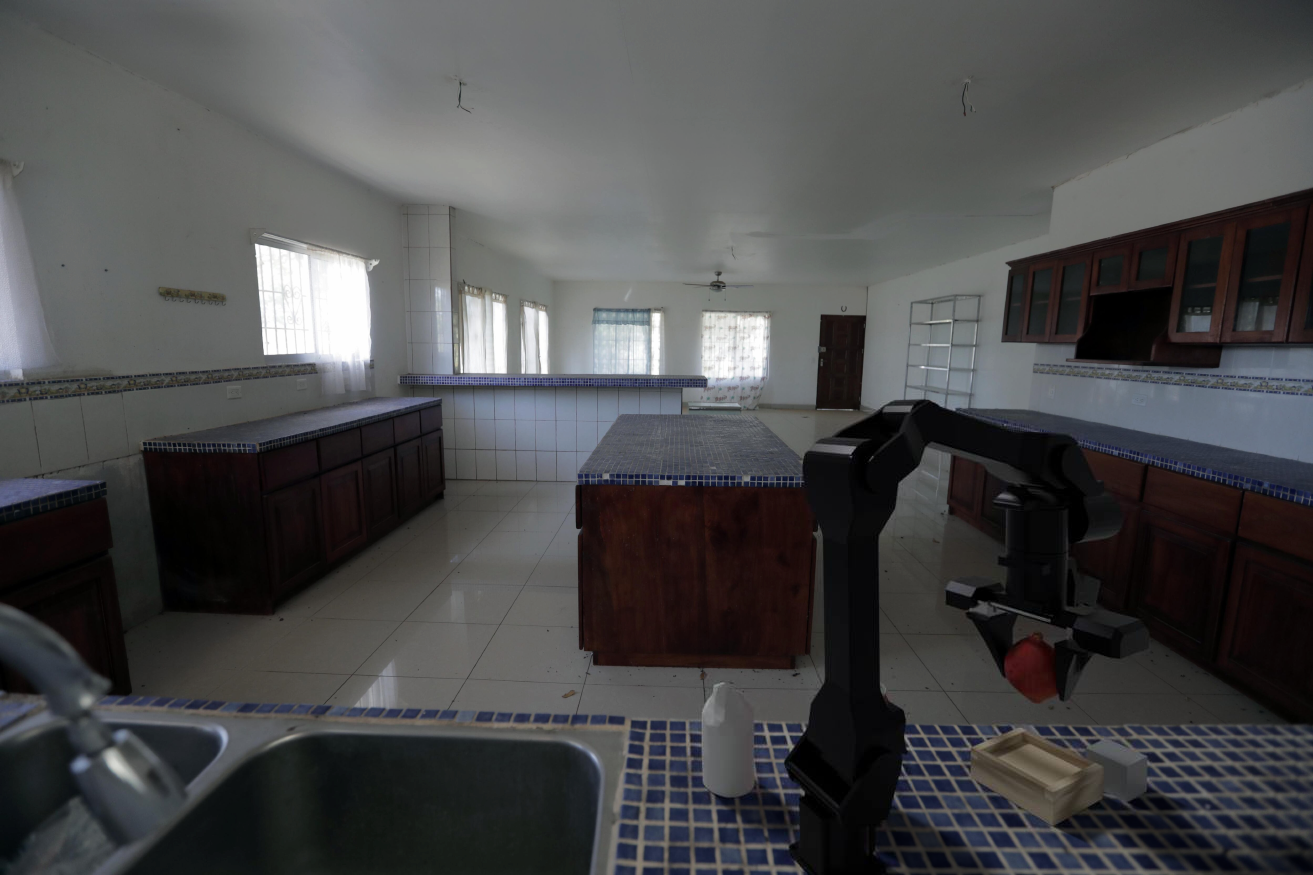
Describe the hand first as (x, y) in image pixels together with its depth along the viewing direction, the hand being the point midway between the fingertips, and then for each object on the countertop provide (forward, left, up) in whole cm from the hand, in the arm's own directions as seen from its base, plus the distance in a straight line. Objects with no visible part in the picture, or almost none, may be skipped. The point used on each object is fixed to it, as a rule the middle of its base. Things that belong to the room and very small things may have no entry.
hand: (1034, 688), depth 65 cm
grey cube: (+8, -4, -11) cm, 15 cm away
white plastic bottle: (-29, +17, -12) cm, 36 cm away
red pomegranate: (0, 0, -2) cm, 2 cm away
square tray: (0, 0, -11) cm, 11 cm away
